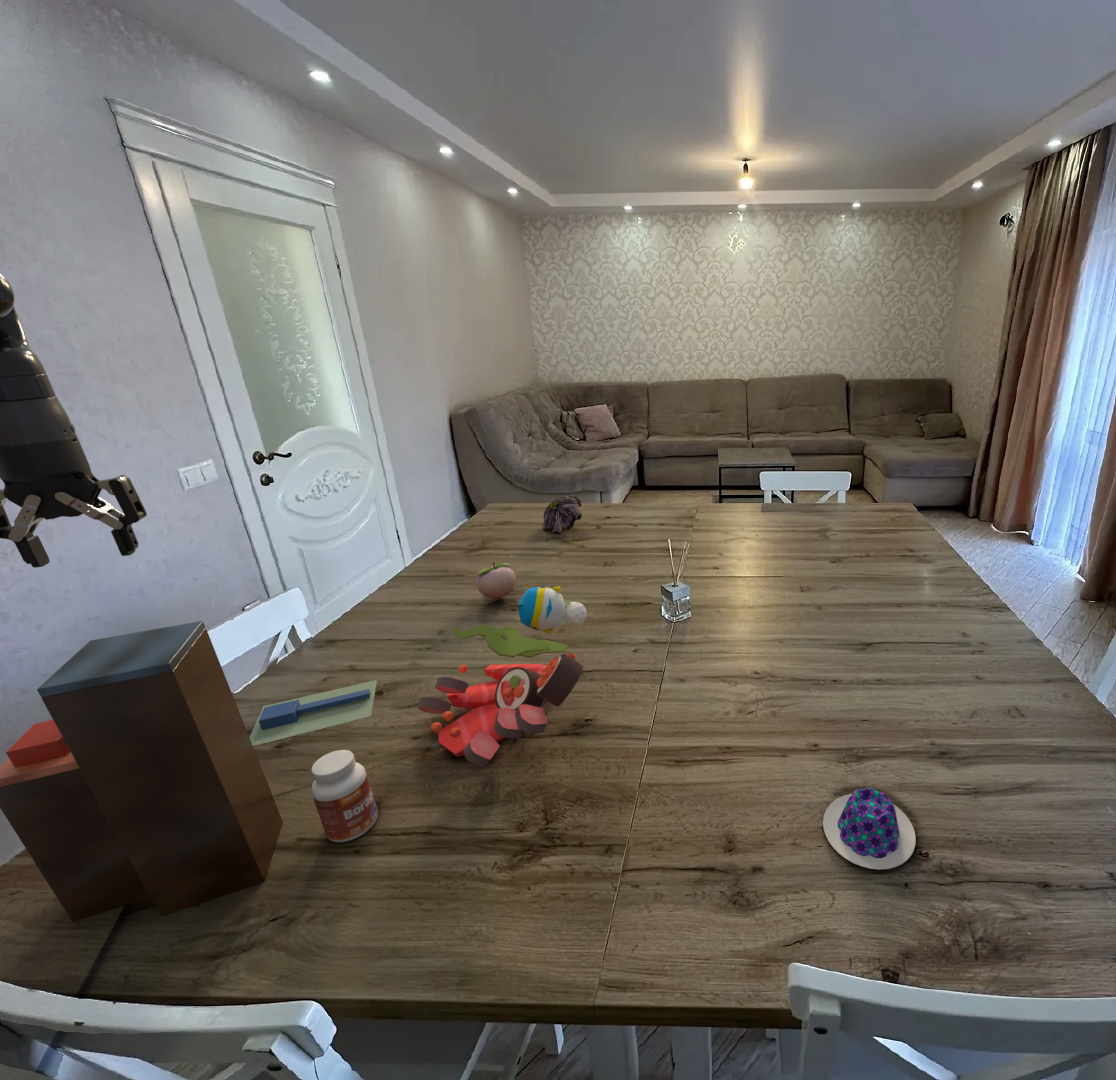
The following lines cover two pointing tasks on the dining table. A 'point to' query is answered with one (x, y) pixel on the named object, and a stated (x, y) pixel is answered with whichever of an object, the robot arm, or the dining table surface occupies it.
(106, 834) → the wooden stand
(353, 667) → the dining table surface
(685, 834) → the dining table surface
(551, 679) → the sushi set
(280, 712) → the blue spatula
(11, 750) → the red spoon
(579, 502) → the decorative flower
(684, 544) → the dining table surface
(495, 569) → the decorative fruit
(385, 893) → the dining table surface
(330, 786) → the pill bottle
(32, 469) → the robot arm
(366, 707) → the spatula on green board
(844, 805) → the pudding
